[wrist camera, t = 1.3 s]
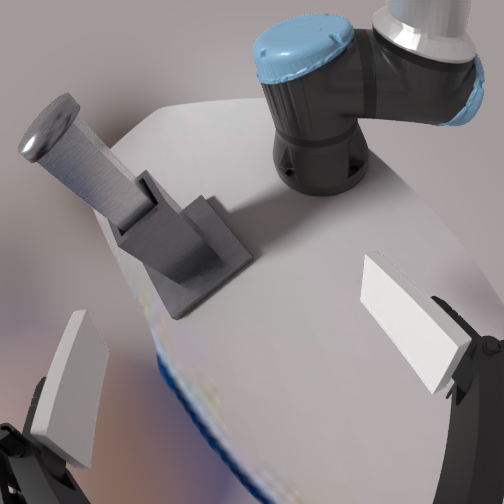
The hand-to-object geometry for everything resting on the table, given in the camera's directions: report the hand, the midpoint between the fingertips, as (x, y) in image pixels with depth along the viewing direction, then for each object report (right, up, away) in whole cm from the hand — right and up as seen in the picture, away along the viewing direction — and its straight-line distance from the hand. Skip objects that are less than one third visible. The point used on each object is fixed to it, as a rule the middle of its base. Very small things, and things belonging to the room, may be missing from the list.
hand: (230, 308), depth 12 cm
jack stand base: (-8, +2, +30) cm, 31 cm away
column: (-9, +3, +29) cm, 30 cm away
